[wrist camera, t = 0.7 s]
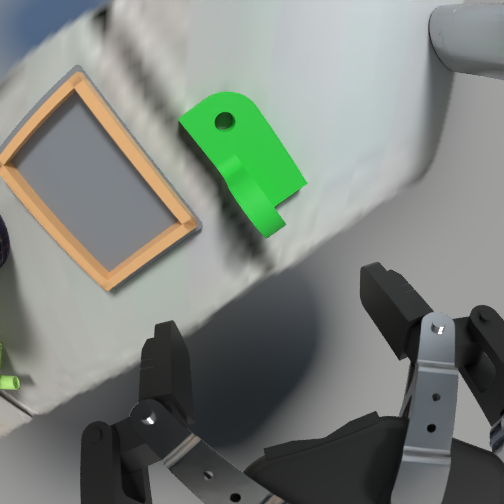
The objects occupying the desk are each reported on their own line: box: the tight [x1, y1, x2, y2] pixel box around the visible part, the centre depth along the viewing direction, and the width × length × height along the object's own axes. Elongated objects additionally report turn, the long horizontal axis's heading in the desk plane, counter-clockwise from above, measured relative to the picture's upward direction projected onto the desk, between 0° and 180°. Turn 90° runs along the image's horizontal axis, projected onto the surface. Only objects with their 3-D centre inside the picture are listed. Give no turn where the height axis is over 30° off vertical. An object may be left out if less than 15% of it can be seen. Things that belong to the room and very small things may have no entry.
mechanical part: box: [179, 92, 307, 239], centre depth 25 cm, size 12×6×8 cm, turn 34°
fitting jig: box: [0, 65, 203, 292], centre depth 25 cm, size 12×20×2 cm, turn 32°
